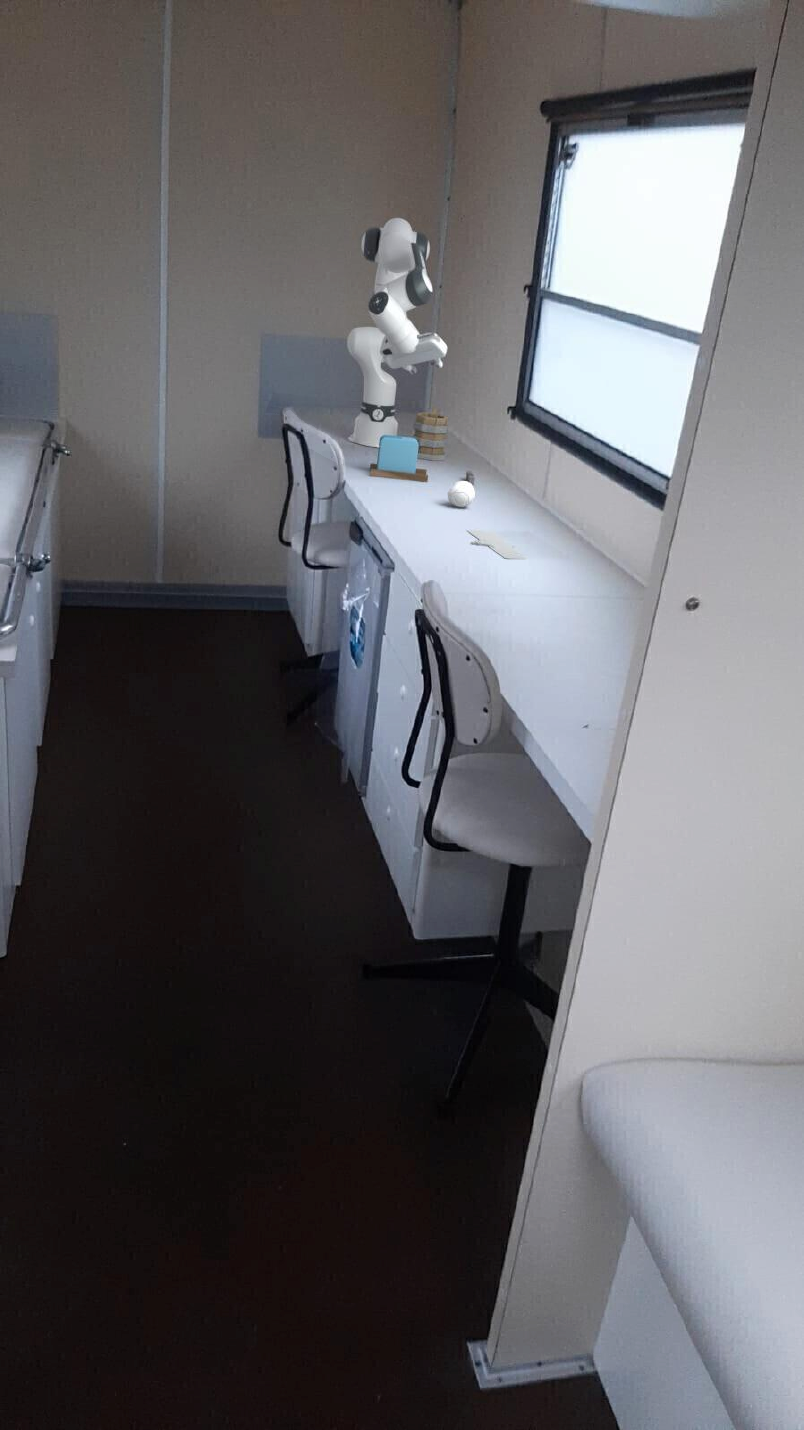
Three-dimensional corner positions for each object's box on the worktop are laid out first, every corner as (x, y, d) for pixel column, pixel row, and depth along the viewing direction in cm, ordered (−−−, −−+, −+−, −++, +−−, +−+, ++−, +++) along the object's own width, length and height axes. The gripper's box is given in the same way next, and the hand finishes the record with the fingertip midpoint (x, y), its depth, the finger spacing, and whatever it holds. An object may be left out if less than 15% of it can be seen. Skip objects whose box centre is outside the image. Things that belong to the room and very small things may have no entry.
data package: (413, 475, 361) (418, 438, 356) (414, 479, 357) (419, 441, 352) (376, 472, 360) (380, 434, 355) (376, 475, 356) (381, 437, 351)
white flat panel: (452, 531, 306) (453, 527, 306) (529, 534, 315) (529, 530, 315) (490, 560, 285) (491, 555, 285) (571, 563, 294) (572, 558, 294)
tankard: (442, 462, 385) (448, 418, 379) (406, 457, 386) (411, 412, 380) (449, 452, 403) (455, 409, 397) (415, 446, 405) (420, 404, 398)
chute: (370, 469, 362) (370, 459, 361) (470, 480, 365) (471, 471, 364) (370, 476, 353) (371, 466, 352) (473, 487, 356) (474, 478, 355)
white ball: (454, 502, 336) (458, 476, 332) (477, 507, 332) (481, 481, 329) (441, 506, 329) (445, 479, 326) (464, 512, 326) (468, 485, 323)
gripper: (436, 323, 335) (458, 354, 346) (379, 337, 347) (402, 367, 357) (432, 339, 333) (454, 370, 343) (375, 353, 344) (398, 383, 355)
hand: (427, 369), depth 350 cm, fingers open, 8 cm apart
